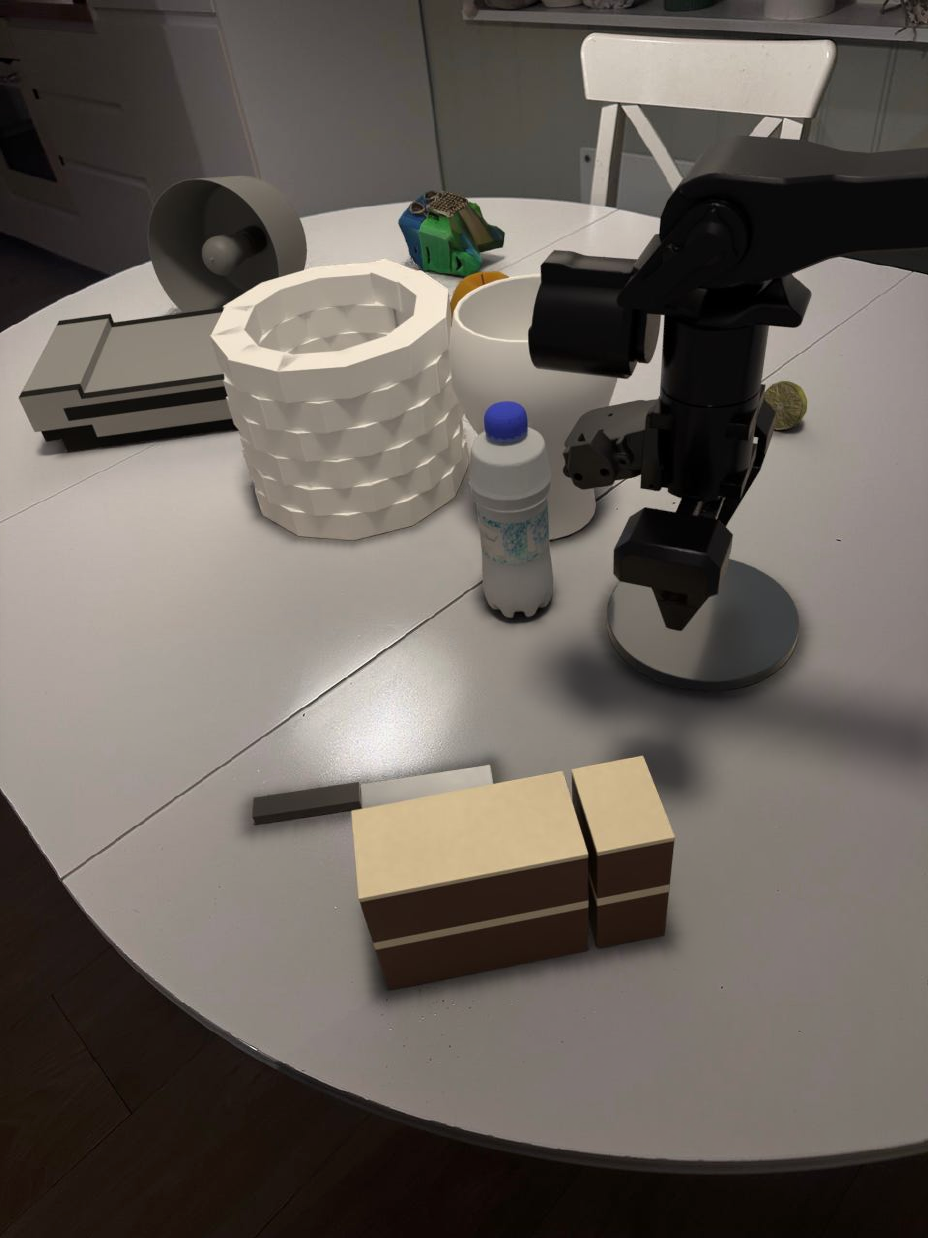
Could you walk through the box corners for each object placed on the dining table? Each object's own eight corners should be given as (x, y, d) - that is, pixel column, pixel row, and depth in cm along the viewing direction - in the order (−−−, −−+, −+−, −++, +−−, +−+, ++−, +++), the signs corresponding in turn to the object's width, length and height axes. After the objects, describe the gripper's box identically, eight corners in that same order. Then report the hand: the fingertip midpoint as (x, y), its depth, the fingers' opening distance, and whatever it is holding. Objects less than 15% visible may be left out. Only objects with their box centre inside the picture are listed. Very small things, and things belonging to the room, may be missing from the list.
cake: (566, 870, 63) (562, 770, 56) (588, 950, 59) (588, 854, 51) (379, 906, 63) (350, 810, 55) (388, 991, 58) (358, 899, 51)
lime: (804, 435, 99) (812, 394, 96) (758, 434, 100) (764, 393, 97) (802, 414, 103) (809, 373, 99) (757, 413, 104) (762, 372, 100)
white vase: (631, 475, 97) (637, 273, 82) (596, 565, 87) (596, 353, 72) (494, 459, 102) (477, 266, 87) (445, 543, 91) (417, 339, 77)
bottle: (472, 590, 86) (449, 398, 72) (538, 569, 87) (527, 377, 74) (499, 635, 81) (480, 438, 68) (568, 612, 82) (563, 414, 69)
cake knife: (490, 767, 70) (489, 758, 70) (494, 792, 69) (493, 784, 68) (256, 802, 70) (253, 794, 69) (255, 828, 68) (251, 820, 68)
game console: (309, 422, 112) (294, 359, 106) (47, 458, 111) (18, 397, 106) (313, 345, 127) (300, 287, 121) (82, 377, 127) (59, 320, 121)
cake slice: (637, 856, 64) (643, 755, 56) (665, 935, 59) (675, 837, 52) (573, 868, 63) (571, 768, 56) (596, 949, 59) (597, 852, 51)
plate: (810, 583, 82) (813, 573, 81) (779, 711, 72) (781, 701, 71) (635, 551, 88) (635, 541, 87) (582, 665, 77) (582, 655, 77)
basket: (351, 571, 90) (311, 397, 77) (212, 488, 103) (159, 328, 90) (521, 455, 102) (510, 288, 89) (377, 394, 115) (350, 242, 102)
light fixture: (256, 173, 117) (345, 140, 138) (96, 187, 126) (202, 153, 146) (291, 333, 129) (369, 280, 149) (142, 335, 137) (235, 285, 158)
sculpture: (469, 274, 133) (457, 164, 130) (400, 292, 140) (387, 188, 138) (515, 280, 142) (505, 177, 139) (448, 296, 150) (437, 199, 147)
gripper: (621, 303, 63) (617, 492, 73) (524, 447, 51) (536, 649, 61) (791, 318, 59) (760, 515, 69) (730, 478, 47) (704, 688, 57)
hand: (690, 585), depth 64 cm, fingers open, 9 cm apart
